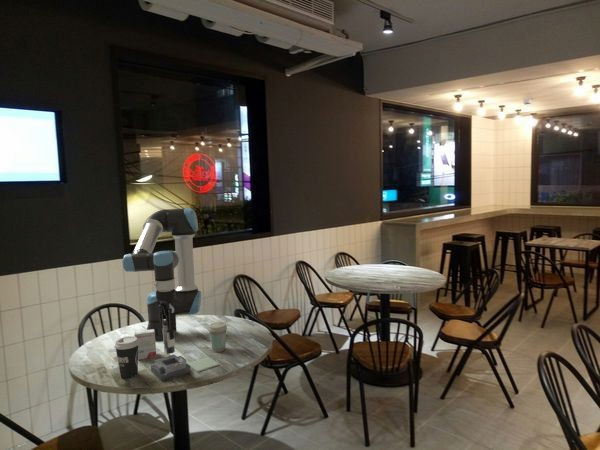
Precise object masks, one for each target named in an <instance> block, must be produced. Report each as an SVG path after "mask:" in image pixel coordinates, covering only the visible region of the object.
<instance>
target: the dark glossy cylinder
mask: <svg viewBox="0 0 600 450" xmlns="http://www.w3.org/2000/svg"><path fill="white" fill-rule="evenodd" d="M162 322H163V336H164V342H163V346H164V354H165V355H166V354H167V355H169V354H173V353H175V352H176V348H175V346H176V345H175V346H172V347H168V340H167V332H166V331H168V328H167V321H166V318H164V319H162Z"/></svg>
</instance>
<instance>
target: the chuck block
mask: <svg viewBox="0 0 600 450" xmlns="http://www.w3.org/2000/svg"><path fill="white" fill-rule="evenodd" d="M150 369H151V370H150V371H151V373H152V374H154V375H155V376H156V377H157V378H158V379H159V381H161V382H165V381H168V380H172V379H174V378H178V377H180V376H184V375H187V374H190V373H191V369H192V368H191V367H190V366H189V365H188V364H187V359H186V358H185V357H183V356H182V355H177V354H172V355H168V356H164V357H161V358H157V359H155V360H154V363H153V365H150Z"/></svg>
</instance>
